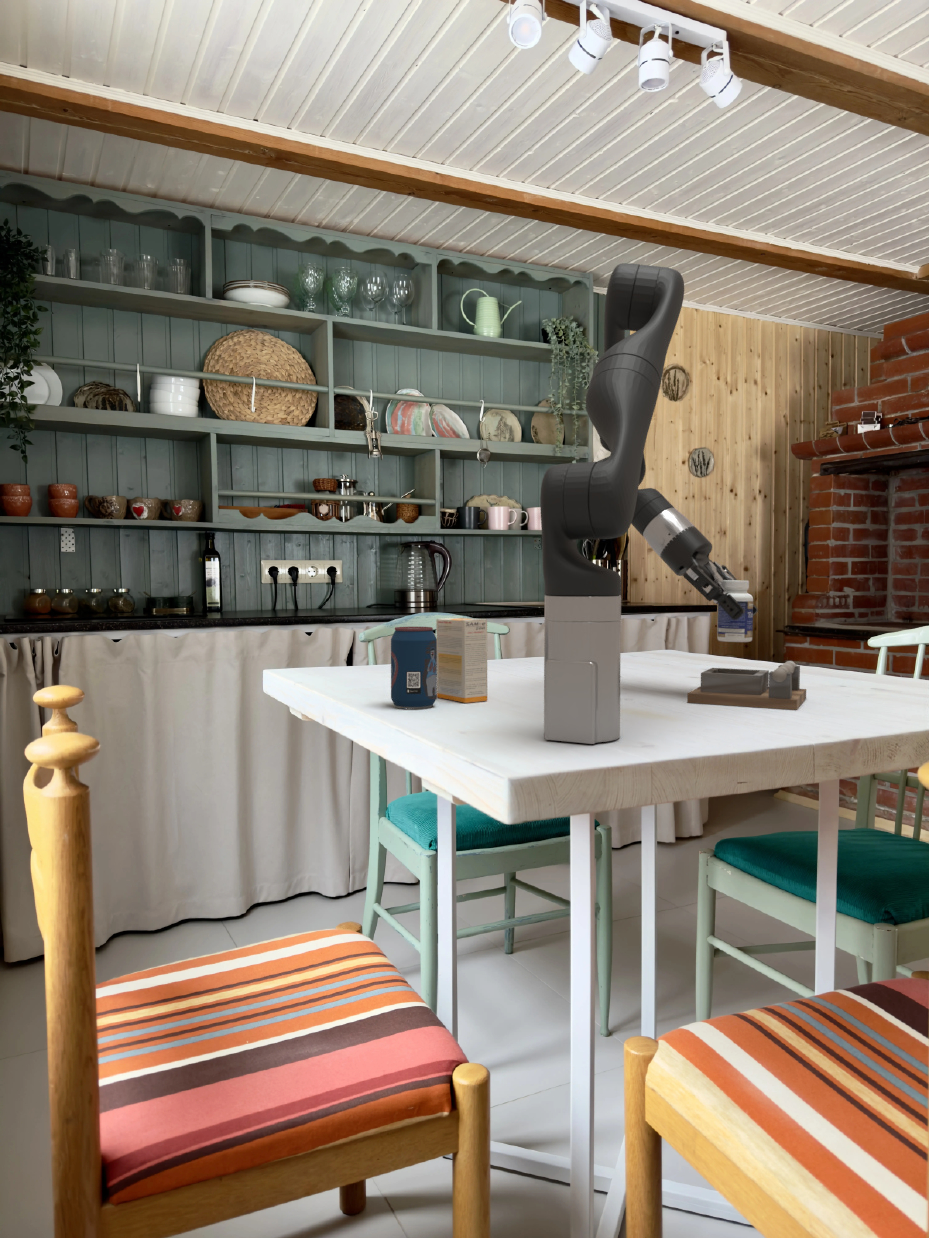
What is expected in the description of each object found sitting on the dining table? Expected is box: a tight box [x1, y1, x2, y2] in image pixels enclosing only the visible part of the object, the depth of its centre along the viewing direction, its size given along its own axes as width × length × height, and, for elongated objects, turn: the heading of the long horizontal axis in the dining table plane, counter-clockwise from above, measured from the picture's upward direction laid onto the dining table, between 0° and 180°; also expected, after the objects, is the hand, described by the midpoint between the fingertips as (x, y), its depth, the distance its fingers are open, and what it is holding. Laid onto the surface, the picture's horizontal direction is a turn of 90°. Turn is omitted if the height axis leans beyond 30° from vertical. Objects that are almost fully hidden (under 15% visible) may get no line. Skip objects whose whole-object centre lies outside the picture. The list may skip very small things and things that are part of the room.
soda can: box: [390, 626, 437, 710], centre depth 128 cm, size 7×7×12 cm
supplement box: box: [435, 617, 488, 704], centre depth 135 cm, size 8×5×13 cm, turn 35°
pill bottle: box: [716, 579, 754, 643], centre depth 135 cm, size 5×5×10 cm
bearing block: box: [686, 660, 807, 711], centre depth 134 cm, size 14×16×6 cm
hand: (746, 615), depth 134 cm, fingers closed on pill bottle, 5 cm apart
